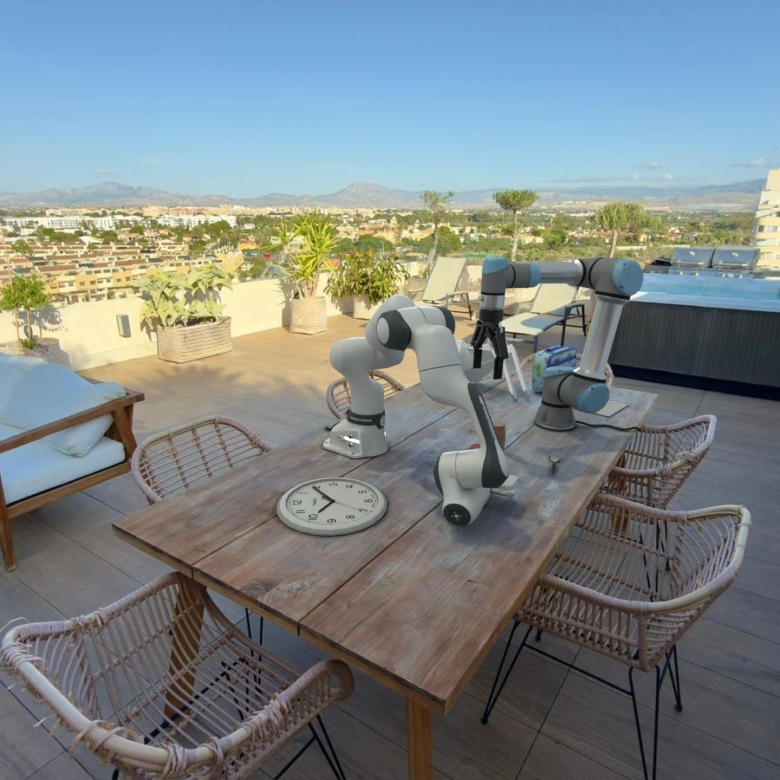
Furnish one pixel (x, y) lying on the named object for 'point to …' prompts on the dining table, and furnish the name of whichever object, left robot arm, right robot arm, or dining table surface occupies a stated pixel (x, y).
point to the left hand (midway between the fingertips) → (487, 468)
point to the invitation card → (611, 408)
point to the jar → (500, 432)
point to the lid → (475, 446)
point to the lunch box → (551, 363)
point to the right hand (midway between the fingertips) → (486, 373)
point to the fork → (554, 461)
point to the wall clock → (331, 506)
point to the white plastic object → (489, 364)
